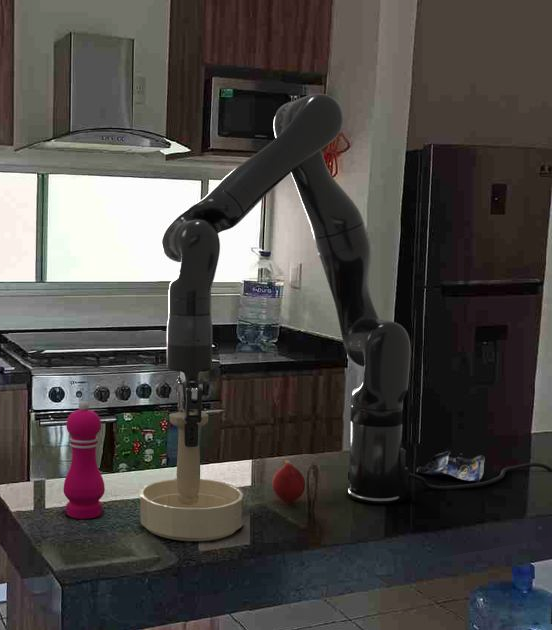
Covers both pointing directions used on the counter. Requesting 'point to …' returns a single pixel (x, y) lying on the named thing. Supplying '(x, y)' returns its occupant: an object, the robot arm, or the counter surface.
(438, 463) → the snack package
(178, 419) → the handle
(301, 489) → the onion
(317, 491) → the counter surface
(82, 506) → the pepper mill
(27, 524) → the counter surface
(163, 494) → the bowl
